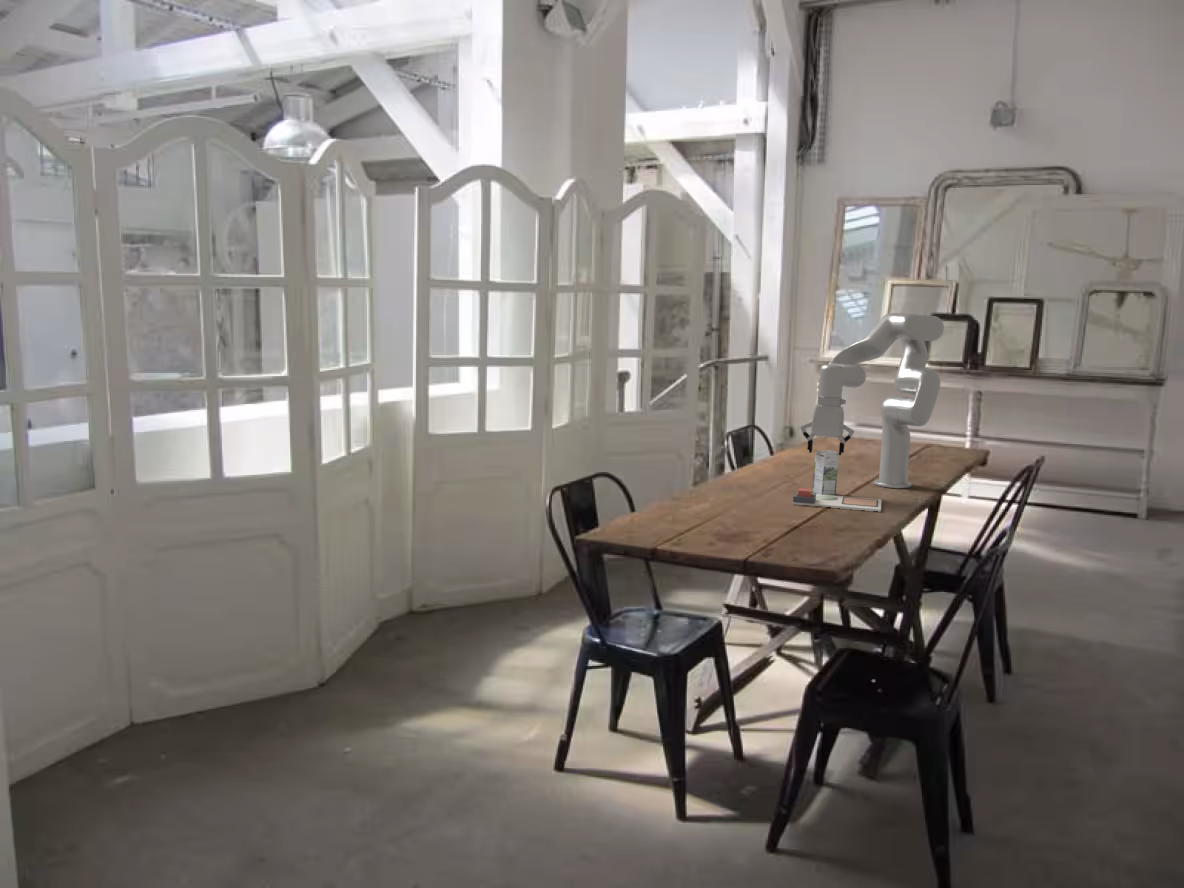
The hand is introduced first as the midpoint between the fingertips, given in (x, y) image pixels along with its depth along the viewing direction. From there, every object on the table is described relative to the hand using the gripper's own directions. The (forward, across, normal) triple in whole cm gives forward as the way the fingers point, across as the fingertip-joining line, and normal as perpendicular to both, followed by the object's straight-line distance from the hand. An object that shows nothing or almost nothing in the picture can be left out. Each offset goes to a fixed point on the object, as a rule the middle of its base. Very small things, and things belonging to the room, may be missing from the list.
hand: (825, 453), depth 326 cm
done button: (+12, +4, +17) cm, 21 cm away
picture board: (+14, -6, +12) cm, 19 cm away
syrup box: (+14, -1, -1) cm, 14 cm away
